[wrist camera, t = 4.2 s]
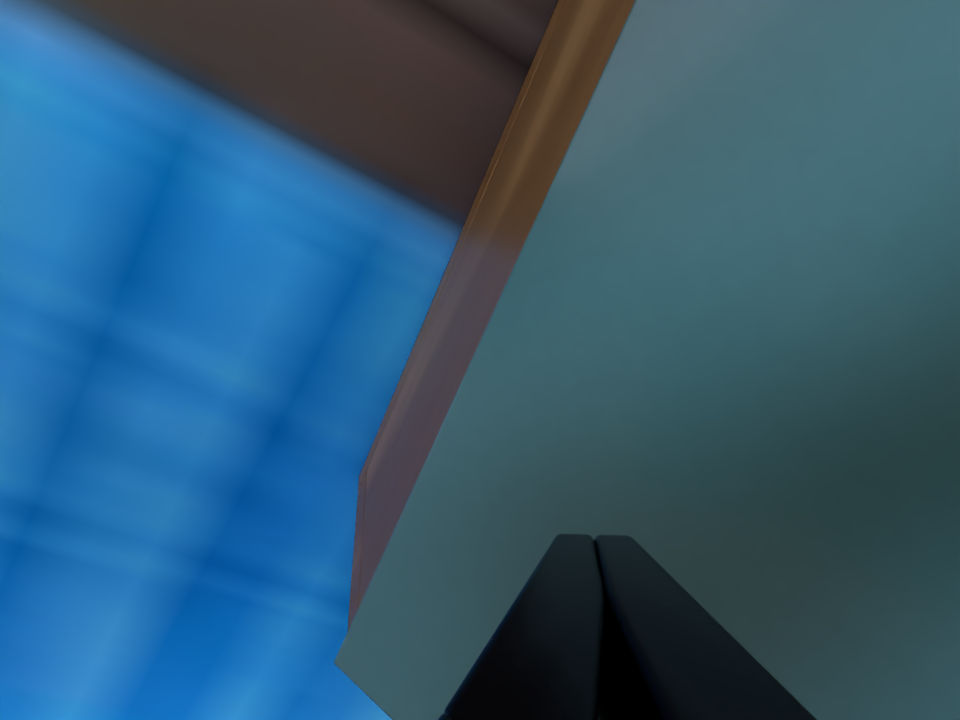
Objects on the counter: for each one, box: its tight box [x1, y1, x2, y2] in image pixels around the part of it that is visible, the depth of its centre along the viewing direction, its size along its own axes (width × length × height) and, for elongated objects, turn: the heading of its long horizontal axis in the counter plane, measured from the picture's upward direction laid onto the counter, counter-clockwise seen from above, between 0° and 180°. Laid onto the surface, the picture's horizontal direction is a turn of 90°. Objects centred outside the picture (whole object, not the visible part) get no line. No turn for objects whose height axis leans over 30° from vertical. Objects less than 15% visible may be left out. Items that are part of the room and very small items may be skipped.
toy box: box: [347, 0, 635, 632], centre depth 18 cm, size 12×16×6 cm
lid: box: [334, 0, 960, 720], centre depth 11 cm, size 13×16×1 cm
